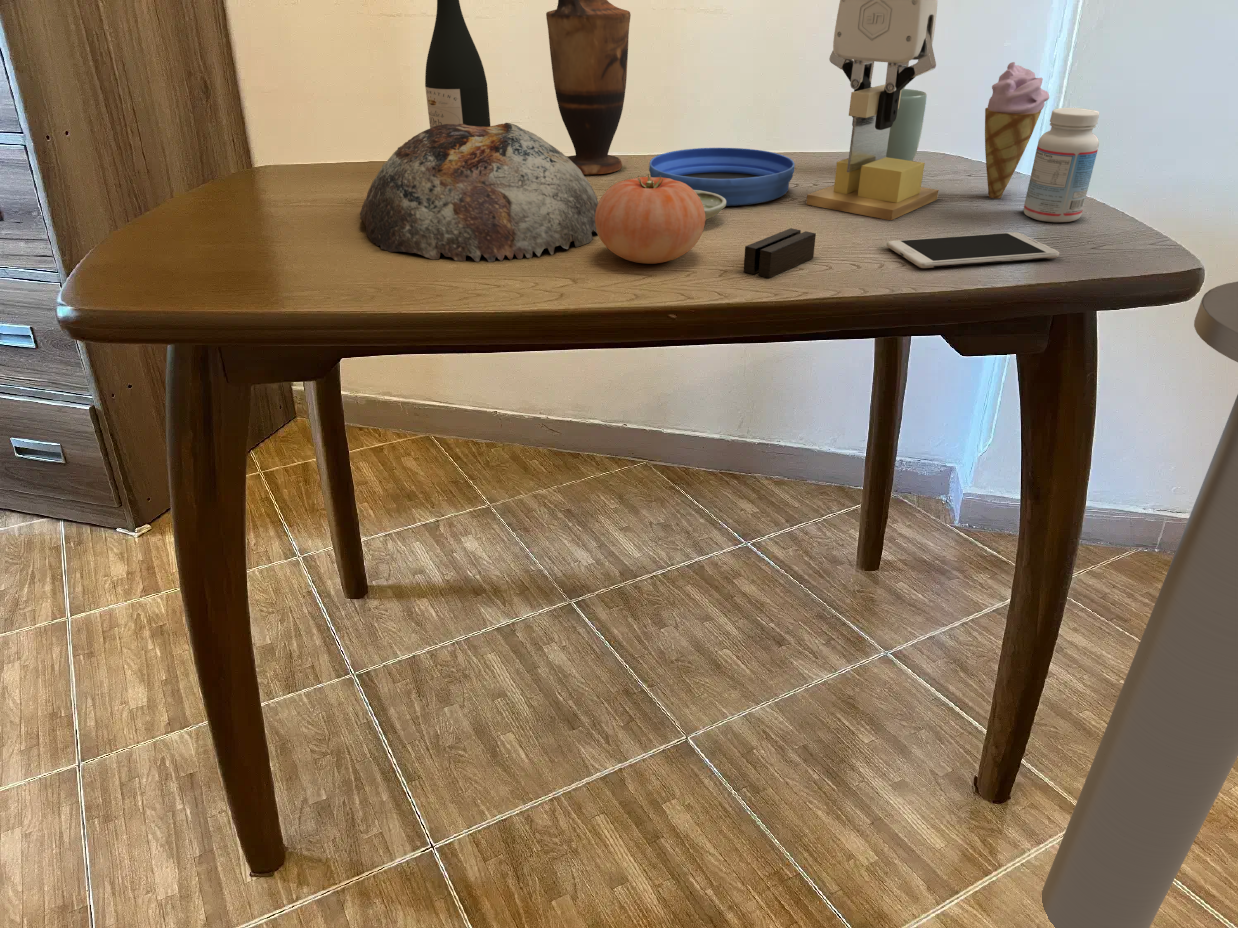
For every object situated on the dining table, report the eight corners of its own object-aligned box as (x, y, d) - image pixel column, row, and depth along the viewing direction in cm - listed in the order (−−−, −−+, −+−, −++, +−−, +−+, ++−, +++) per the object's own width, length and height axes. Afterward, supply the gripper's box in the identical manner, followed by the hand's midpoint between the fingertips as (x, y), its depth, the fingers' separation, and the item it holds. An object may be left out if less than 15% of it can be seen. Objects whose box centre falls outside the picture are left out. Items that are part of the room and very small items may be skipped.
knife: (892, 161, 106) (904, 85, 102) (856, 174, 100) (867, 94, 96) (876, 158, 107) (886, 83, 103) (839, 171, 102) (849, 92, 97)
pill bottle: (1066, 209, 102) (1092, 106, 96) (1089, 224, 96) (1118, 115, 91) (1013, 209, 102) (1036, 106, 96) (1033, 224, 97) (1059, 116, 91)
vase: (592, 157, 129) (586, -83, 113) (646, 168, 122) (648, -85, 107) (536, 169, 122) (523, -84, 107) (591, 181, 115) (585, -87, 100)
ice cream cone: (989, 188, 111) (1016, 58, 103) (1035, 197, 107) (1067, 63, 99) (959, 196, 107) (984, 62, 100) (1005, 206, 103) (1035, 67, 95)
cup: (895, 163, 123) (906, 87, 118) (925, 175, 117) (939, 95, 112) (845, 167, 122) (854, 90, 116) (873, 179, 115) (884, 98, 110)
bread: (561, 178, 117) (557, 98, 112) (643, 245, 91) (644, 145, 86) (351, 196, 110) (337, 111, 105) (375, 275, 83) (358, 167, 78)
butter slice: (870, 185, 108) (874, 155, 106) (846, 194, 104) (850, 164, 102) (857, 182, 109) (861, 153, 107) (833, 192, 105) (836, 161, 103)
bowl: (722, 168, 122) (723, 141, 120) (821, 192, 109) (825, 163, 107) (620, 188, 112) (619, 159, 110) (716, 217, 100) (717, 186, 98)
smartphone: (884, 240, 89) (1018, 231, 91) (883, 246, 89) (1016, 237, 92) (920, 263, 83) (1062, 252, 85) (919, 269, 83) (1061, 259, 85)
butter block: (920, 193, 104) (925, 162, 102) (896, 203, 100) (901, 171, 98) (881, 186, 107) (885, 157, 105) (857, 196, 103) (861, 165, 101)
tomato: (726, 262, 86) (730, 179, 82) (636, 283, 81) (636, 196, 77) (660, 236, 94) (662, 159, 90) (575, 254, 88) (572, 173, 84)
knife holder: (813, 258, 87) (816, 233, 86) (768, 278, 82) (770, 252, 80) (788, 252, 88) (790, 228, 87) (743, 272, 83) (744, 246, 82)
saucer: (671, 237, 93) (672, 214, 92) (623, 217, 100) (623, 195, 99) (742, 223, 98) (744, 202, 96) (692, 205, 105) (692, 184, 103)
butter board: (937, 200, 106) (938, 189, 105) (891, 220, 98) (892, 209, 98) (855, 186, 112) (856, 176, 112) (806, 204, 105) (807, 194, 104)
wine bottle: (455, 184, 115) (428, -85, 99) (424, 174, 120) (393, -83, 104) (505, 174, 119) (486, -84, 104) (473, 165, 124) (450, -83, 109)
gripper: (812, -57, 94) (795, 123, 104) (955, -58, 85) (922, 140, 95) (846, -57, 99) (827, 115, 109) (986, -58, 90) (952, 130, 99)
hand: (872, 125), depth 102 cm, fingers closed on knife, 2 cm apart
